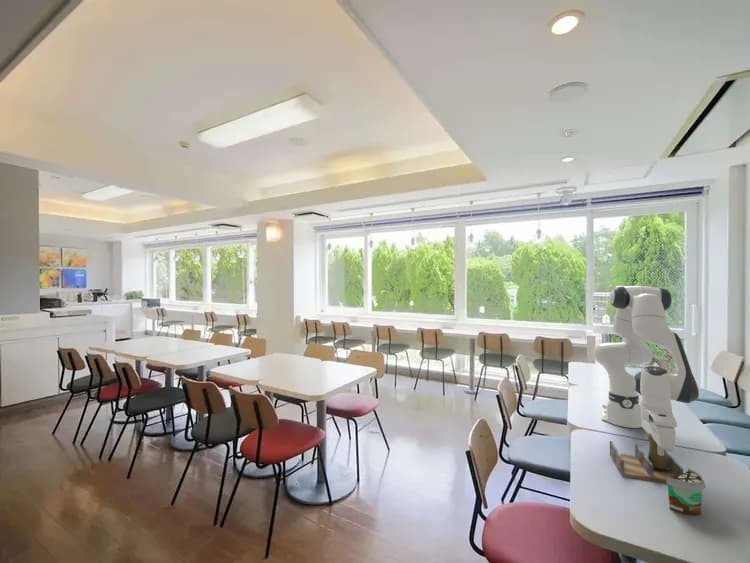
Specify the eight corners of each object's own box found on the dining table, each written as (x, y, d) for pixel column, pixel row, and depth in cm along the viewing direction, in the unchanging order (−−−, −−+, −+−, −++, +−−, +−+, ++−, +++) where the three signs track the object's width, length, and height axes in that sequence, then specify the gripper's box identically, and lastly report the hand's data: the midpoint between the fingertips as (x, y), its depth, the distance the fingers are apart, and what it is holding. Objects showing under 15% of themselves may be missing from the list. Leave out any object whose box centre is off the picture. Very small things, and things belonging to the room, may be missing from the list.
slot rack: (609, 455, 137) (609, 440, 137) (664, 462, 130) (663, 447, 130) (621, 476, 122) (621, 459, 122) (683, 486, 115) (683, 468, 115)
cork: (673, 469, 121) (671, 437, 121) (653, 468, 122) (652, 436, 122) (662, 461, 127) (661, 431, 127) (644, 460, 128) (642, 430, 128)
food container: (692, 523, 98) (691, 487, 98) (667, 510, 103) (666, 476, 103) (715, 511, 102) (714, 477, 103) (689, 499, 108) (688, 467, 108)
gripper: (636, 402, 136) (637, 437, 135) (656, 422, 117) (657, 463, 116) (655, 404, 133) (656, 440, 133) (679, 424, 114) (680, 466, 114)
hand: (657, 451), depth 125 cm, fingers closed on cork, 4 cm apart
